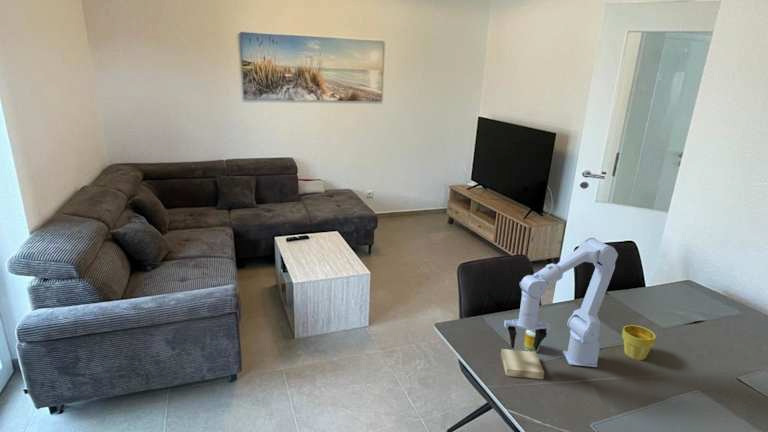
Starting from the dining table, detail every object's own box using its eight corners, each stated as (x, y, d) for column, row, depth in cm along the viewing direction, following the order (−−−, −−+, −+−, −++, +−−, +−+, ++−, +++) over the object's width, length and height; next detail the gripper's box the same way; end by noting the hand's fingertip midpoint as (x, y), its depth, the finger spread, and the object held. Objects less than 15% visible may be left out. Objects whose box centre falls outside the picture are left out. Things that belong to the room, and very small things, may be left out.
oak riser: (534, 359, 158) (535, 352, 157) (543, 380, 146) (544, 372, 145) (500, 356, 159) (501, 348, 158) (506, 376, 147) (507, 369, 146)
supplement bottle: (530, 343, 167) (533, 320, 164) (542, 350, 163) (545, 326, 160) (520, 347, 164) (523, 324, 161) (532, 354, 160) (536, 330, 157)
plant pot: (614, 355, 161) (619, 331, 159) (623, 344, 169) (627, 321, 166) (646, 368, 155) (652, 343, 152) (653, 356, 162) (659, 332, 159)
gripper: (548, 307, 150) (542, 342, 154) (504, 304, 151) (500, 339, 155) (554, 317, 143) (548, 354, 147) (508, 313, 144) (503, 350, 148)
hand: (523, 347), depth 150 cm, fingers open, 7 cm apart
